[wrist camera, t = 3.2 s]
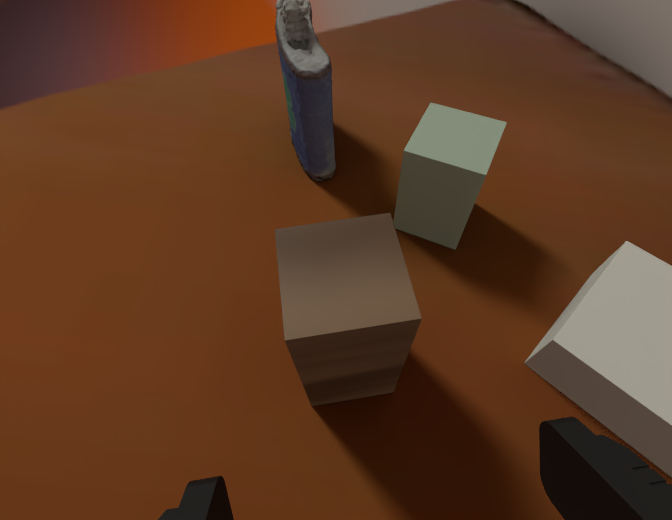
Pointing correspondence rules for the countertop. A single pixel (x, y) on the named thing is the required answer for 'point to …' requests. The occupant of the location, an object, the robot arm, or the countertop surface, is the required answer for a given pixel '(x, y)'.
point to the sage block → (444, 173)
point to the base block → (618, 351)
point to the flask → (306, 88)
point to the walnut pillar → (346, 306)
